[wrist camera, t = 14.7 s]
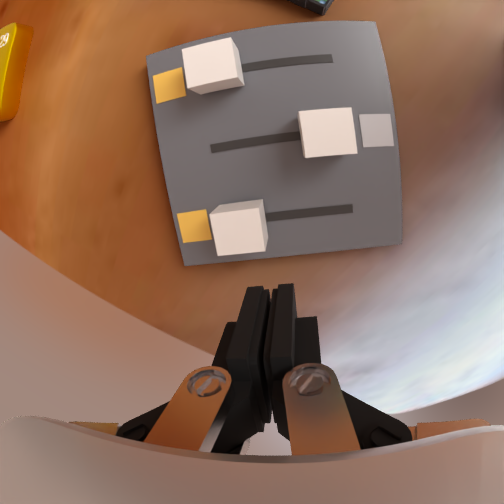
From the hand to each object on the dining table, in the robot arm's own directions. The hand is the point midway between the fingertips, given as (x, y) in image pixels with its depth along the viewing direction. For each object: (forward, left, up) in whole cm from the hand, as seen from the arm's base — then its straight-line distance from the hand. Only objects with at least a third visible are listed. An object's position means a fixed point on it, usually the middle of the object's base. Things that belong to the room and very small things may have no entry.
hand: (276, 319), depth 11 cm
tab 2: (+4, 0, -17) cm, 17 cm away
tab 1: (+4, -14, -17) cm, 22 cm away
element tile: (+39, -28, -20) cm, 52 cm away
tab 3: (-4, -7, -17) cm, 19 cm away
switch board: (0, -7, -19) cm, 20 cm away
